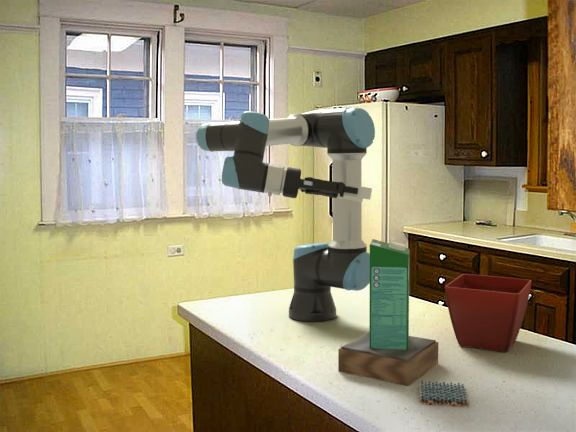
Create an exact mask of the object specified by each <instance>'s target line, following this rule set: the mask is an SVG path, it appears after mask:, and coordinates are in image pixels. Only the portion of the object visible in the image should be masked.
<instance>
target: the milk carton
mask: <svg viewBox="0 0 576 432" xmlns="http://www.w3.org/2000/svg"><path fill="white" fill-rule="evenodd" d="M369 254H370V282H369V331H368V333H369V348H377V349H398V350H408V343H409V336H410V332H409V331H410V248H409V247H407V245H406V244H405V243H401V242H397V241H390V242H385V241H381V240H378V239H375V238H374V239H372V240H371V242H370V244H369Z"/></svg>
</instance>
